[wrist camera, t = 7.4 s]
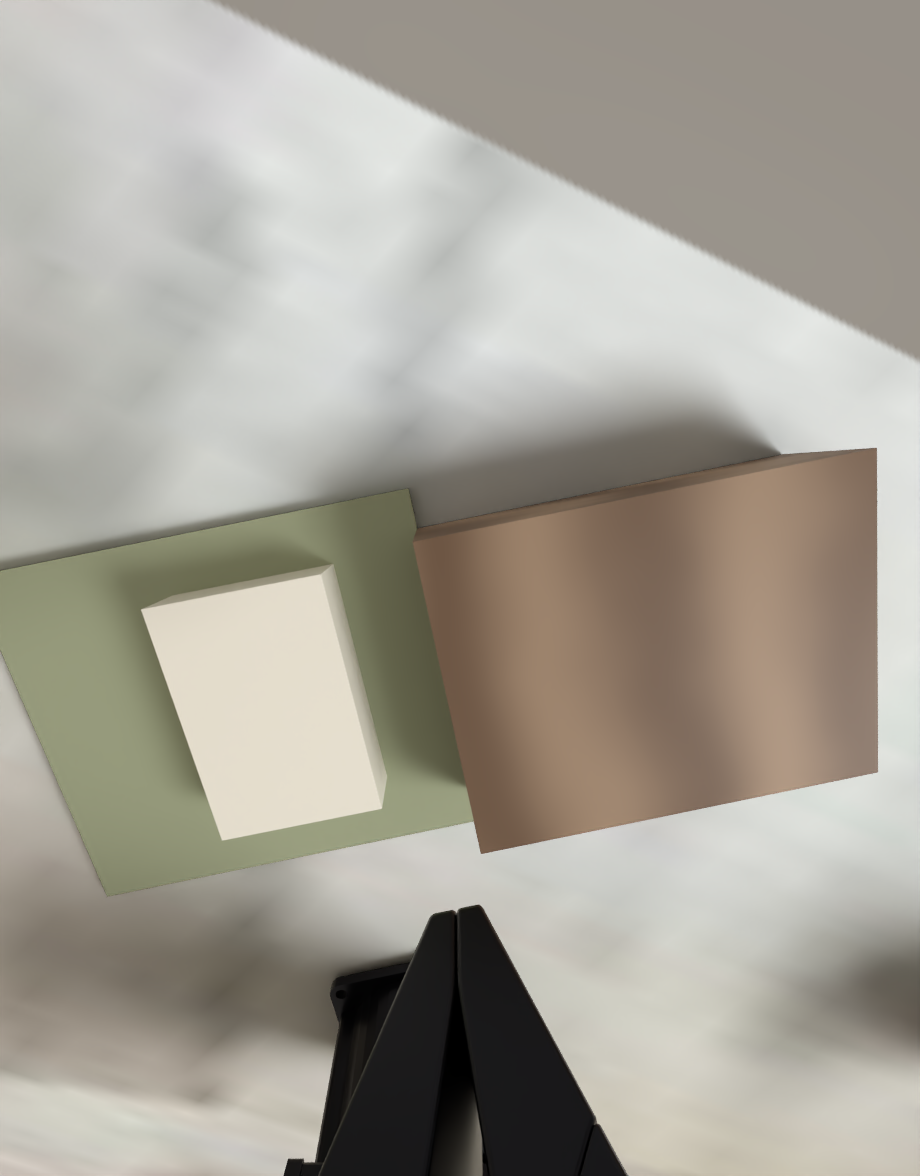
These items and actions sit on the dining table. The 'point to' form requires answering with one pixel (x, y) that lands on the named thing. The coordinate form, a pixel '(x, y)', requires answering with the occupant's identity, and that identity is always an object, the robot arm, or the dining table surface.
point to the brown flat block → (660, 644)
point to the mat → (147, 712)
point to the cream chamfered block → (271, 700)
